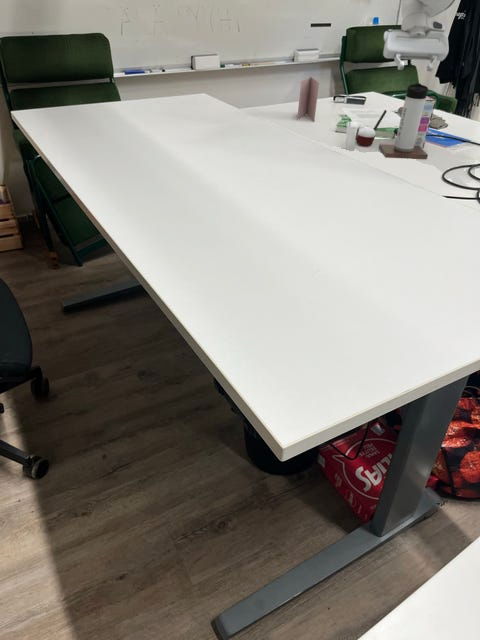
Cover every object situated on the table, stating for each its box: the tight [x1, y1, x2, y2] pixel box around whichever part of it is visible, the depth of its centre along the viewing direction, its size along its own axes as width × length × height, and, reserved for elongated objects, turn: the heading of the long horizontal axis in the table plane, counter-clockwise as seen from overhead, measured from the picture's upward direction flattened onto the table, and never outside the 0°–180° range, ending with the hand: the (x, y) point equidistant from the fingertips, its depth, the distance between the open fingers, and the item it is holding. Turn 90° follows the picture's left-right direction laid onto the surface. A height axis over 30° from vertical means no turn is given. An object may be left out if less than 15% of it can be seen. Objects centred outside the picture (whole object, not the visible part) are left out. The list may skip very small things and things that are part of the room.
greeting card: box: [296, 76, 320, 122], centre depth 191 cm, size 11×7×15 cm, turn 154°
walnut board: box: [378, 143, 429, 160], centre depth 164 cm, size 14×10×2 cm
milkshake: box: [344, 120, 362, 152], centre depth 162 cm, size 5×5×10 cm
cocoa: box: [356, 109, 388, 147], centre depth 167 cm, size 10×6×12 cm, turn 68°
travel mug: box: [394, 82, 429, 152], centre depth 157 cm, size 6×7×20 cm
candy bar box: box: [414, 95, 437, 150], centre depth 168 cm, size 11×5×16 cm, turn 10°
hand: (415, 69), depth 154 cm, fingers open, 8 cm apart
